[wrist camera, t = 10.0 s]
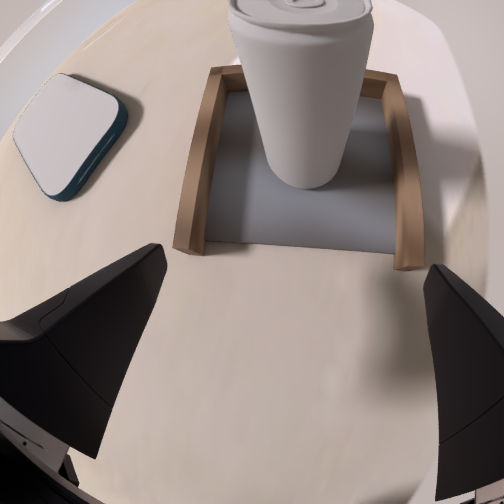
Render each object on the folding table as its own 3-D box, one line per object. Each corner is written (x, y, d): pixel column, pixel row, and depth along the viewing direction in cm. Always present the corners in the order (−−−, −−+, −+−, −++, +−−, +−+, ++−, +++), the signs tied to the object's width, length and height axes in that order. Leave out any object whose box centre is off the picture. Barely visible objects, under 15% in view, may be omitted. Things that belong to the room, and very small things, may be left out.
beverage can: (328, 124, 17) (339, -30, 5) (350, 184, 16) (406, 28, 5) (261, 137, 18) (215, -17, 6) (276, 199, 17) (233, 40, 5)
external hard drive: (17, 138, 26) (9, 133, 24) (63, 76, 26) (56, 69, 24) (68, 217, 21) (53, 211, 19) (143, 115, 21) (133, 102, 19)
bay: (407, 270, 15) (424, 266, 13) (188, 254, 18) (172, 247, 15) (390, 94, 17) (397, 75, 15) (219, 87, 20) (211, 67, 17)
